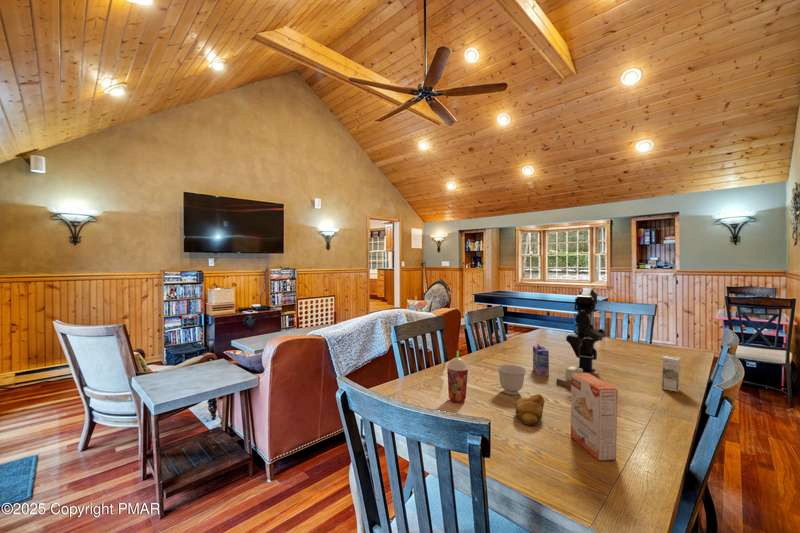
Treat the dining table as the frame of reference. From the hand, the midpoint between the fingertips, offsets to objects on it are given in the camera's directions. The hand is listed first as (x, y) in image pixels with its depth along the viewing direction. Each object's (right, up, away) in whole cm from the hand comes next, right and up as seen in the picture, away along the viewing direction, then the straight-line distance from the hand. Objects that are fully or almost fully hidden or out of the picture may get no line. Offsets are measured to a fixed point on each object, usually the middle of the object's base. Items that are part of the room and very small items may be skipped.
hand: (583, 354), depth 168 cm
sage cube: (-8, -9, -7) cm, 14 cm away
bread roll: (-41, -13, -41) cm, 59 cm away
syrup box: (+32, -13, -12) cm, 36 cm away
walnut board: (-8, -12, -7) cm, 16 cm away
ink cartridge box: (-16, -12, +10) cm, 23 cm away
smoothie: (-64, -12, -25) cm, 70 cm away
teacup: (-39, -12, -15) cm, 43 cm away
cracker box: (-29, -14, -60) cm, 68 cm away
